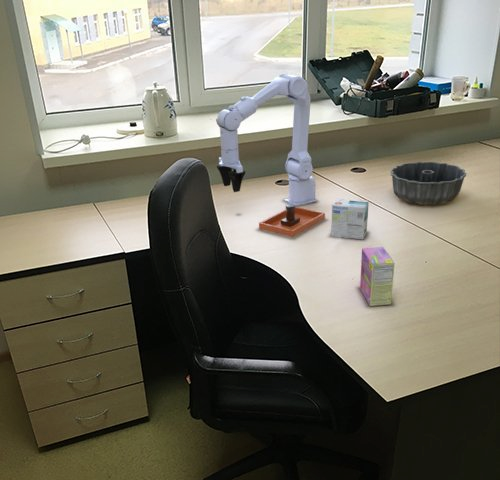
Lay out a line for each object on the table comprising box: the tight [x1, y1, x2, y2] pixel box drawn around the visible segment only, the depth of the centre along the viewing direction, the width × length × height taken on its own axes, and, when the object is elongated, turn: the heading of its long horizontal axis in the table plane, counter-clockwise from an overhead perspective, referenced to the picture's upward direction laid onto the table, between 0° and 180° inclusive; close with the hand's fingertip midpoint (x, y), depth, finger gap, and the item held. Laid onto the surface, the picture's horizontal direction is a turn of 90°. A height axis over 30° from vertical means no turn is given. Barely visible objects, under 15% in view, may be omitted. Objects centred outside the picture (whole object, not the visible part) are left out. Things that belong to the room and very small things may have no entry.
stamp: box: [281, 203, 300, 227], centre depth 197 cm, size 6×4×6 cm
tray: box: [258, 206, 326, 238], centre depth 198 cm, size 20×14×2 cm
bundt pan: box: [390, 161, 467, 206], centre depth 214 cm, size 26×26×10 cm
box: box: [359, 246, 396, 307], centre depth 150 cm, size 10×6×12 cm, turn 5°
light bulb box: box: [330, 198, 370, 240], centre depth 187 cm, size 11×7×11 cm, turn 71°
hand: (231, 188), depth 202 cm, fingers open, 7 cm apart
